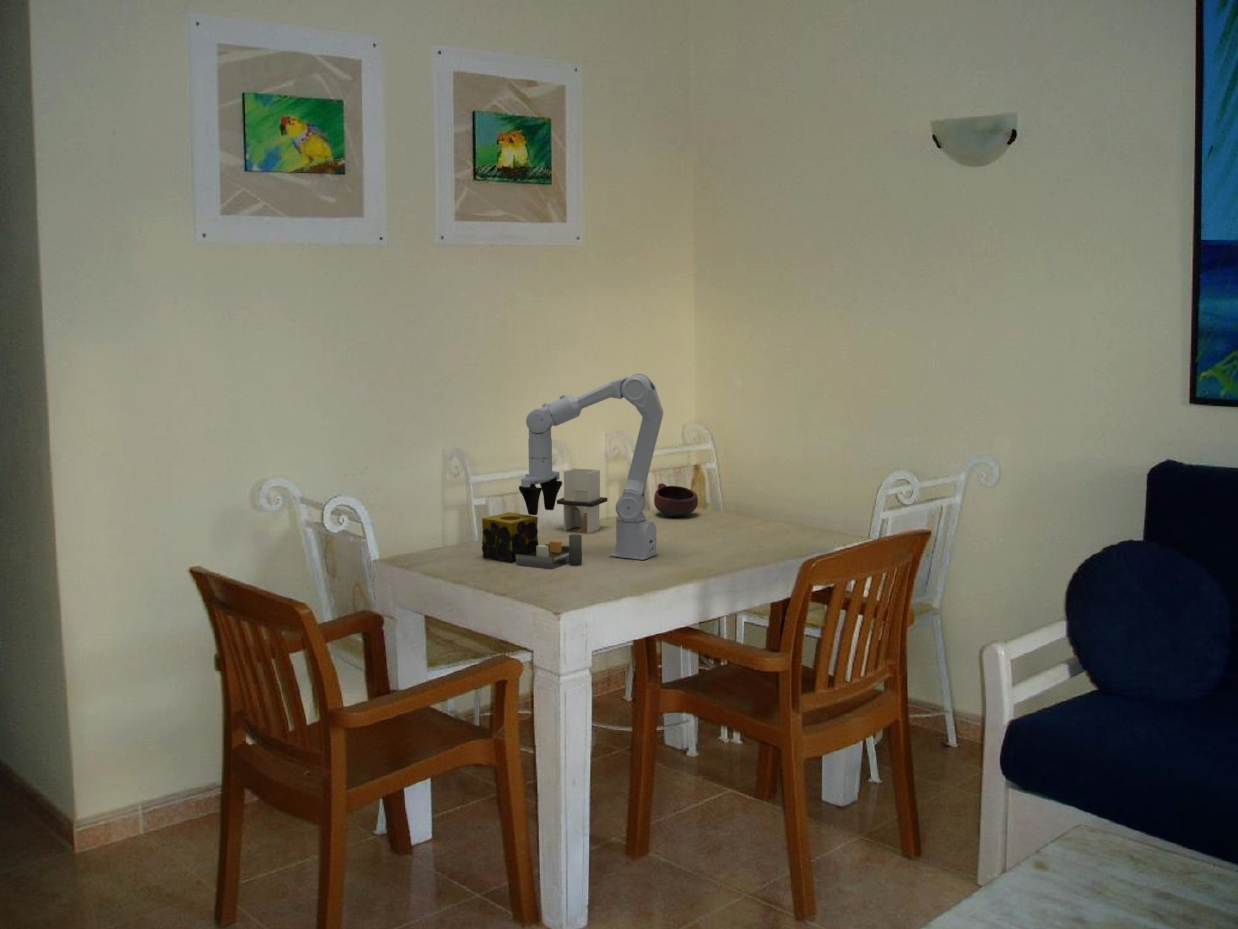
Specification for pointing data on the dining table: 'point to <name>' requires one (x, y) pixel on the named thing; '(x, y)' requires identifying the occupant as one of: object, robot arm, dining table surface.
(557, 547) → the tan rectangular prism
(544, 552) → the upright cream block
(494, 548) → the candle
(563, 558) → the grey tray
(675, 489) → the bowl
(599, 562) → the dining table surface
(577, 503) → the model fireplace
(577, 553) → the post
